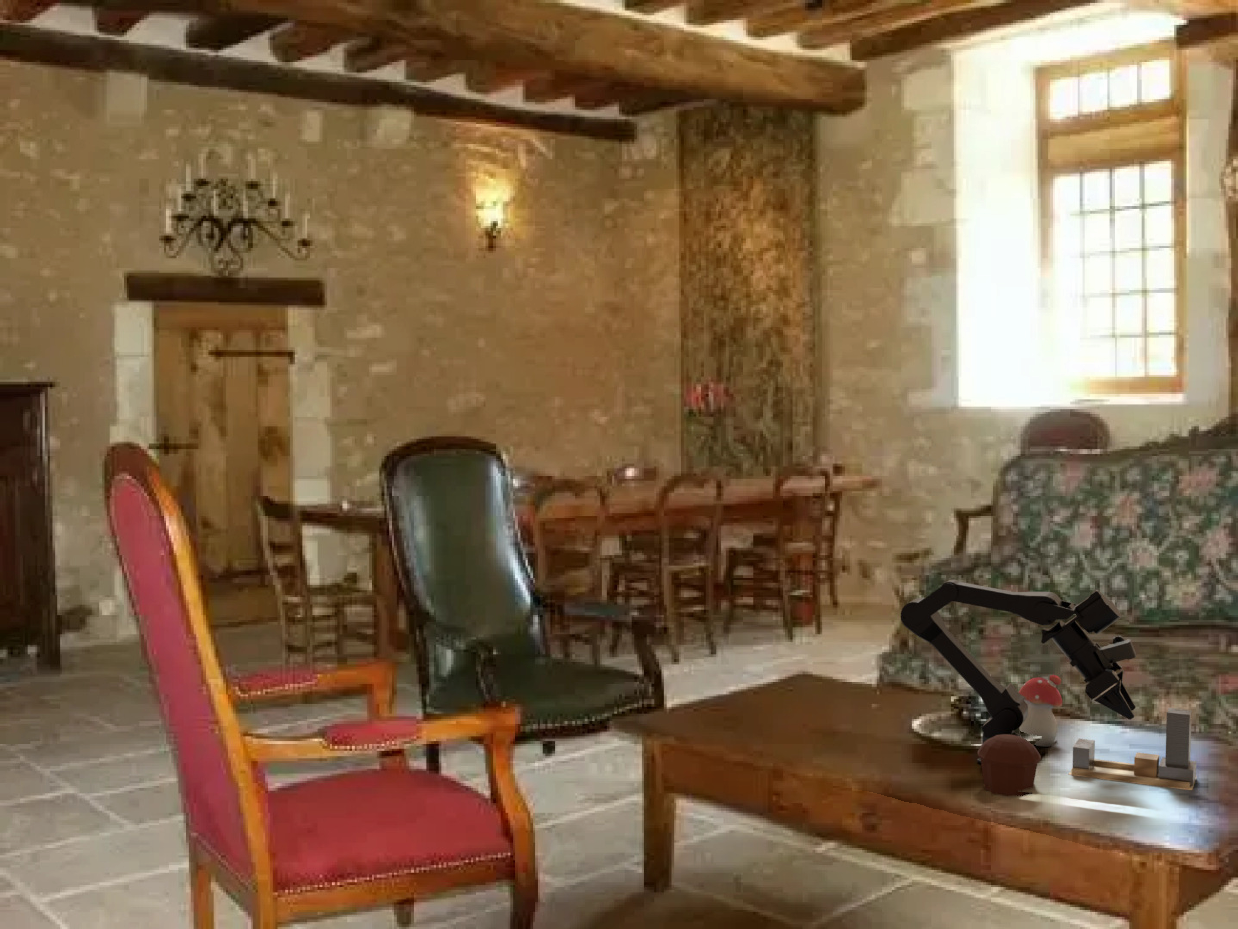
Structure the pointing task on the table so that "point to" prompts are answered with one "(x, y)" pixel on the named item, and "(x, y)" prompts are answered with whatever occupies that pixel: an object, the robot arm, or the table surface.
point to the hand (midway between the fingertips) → (1133, 713)
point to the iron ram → (1178, 748)
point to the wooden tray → (1125, 774)
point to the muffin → (1008, 764)
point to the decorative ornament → (1041, 708)
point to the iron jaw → (1084, 754)
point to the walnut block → (1146, 765)
